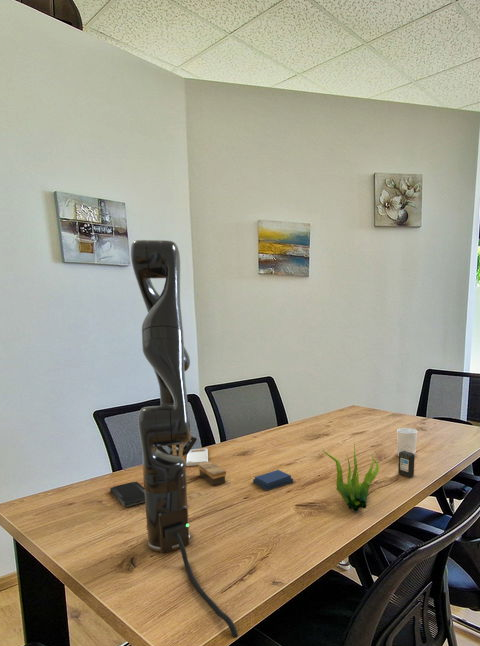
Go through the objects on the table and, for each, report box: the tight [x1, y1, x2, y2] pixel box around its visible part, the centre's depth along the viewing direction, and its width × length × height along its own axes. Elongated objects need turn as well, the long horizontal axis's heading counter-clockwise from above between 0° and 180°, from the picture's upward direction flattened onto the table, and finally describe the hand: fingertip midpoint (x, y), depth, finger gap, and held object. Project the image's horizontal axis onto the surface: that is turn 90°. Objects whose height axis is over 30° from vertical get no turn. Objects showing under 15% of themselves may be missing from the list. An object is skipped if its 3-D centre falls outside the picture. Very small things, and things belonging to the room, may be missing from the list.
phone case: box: [185, 447, 209, 467], centre depth 160 cm, size 7×1×15 cm
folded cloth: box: [252, 469, 294, 491], centre depth 139 cm, size 8×10×2 cm
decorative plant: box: [321, 436, 380, 513], centre depth 132 cm, size 18×30×15 cm, turn 163°
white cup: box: [396, 427, 419, 457], centre depth 164 cm, size 8×8×10 cm
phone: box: [109, 481, 145, 508], centre depth 128 cm, size 8×1×15 cm
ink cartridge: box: [397, 451, 416, 478], centre depth 145 cm, size 5×2×8 cm, turn 44°
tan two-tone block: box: [197, 460, 227, 487], centre depth 141 cm, size 12×4×4 cm, turn 40°
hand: (177, 469), depth 133 cm, fingers closed
